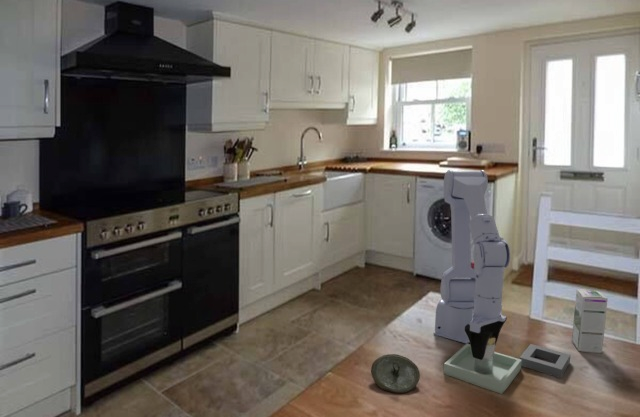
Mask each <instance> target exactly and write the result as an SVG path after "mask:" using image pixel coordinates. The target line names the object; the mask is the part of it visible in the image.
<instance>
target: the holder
mask: <svg viewBox="0 0 640 417" xmlns="http://www.w3.org/2000/svg"><path fill="white" fill-rule="evenodd" d="M535 357H537V358H535ZM539 358H542V359H543V360H542V359H539ZM519 359H521V360H522V362H521V367H523V368H527V369H530V370H533V371H537V372H540V373H543V374H547V375H550V376H553V377H557V378H559V379H560V378H561V379H562V377H563V375H564V374H565V371H566V370H567V368H568V366H569V365H570V364H571V363H570V362H571V354H569V353H566V352H561V351H558V350H555V349H551V348H547V347H543V346H541V345H536V344H532V343H530V344H529V345H528V347H527V348H526V349H525V350H524V351H523V353H521V355H520V356H519ZM546 360H548V361H549V362H548V361H546ZM550 361H552V362H550ZM553 362H555V363H553Z"/></svg>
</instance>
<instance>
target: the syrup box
mask: <svg viewBox="0 0 640 417" xmlns="http://www.w3.org/2000/svg"><path fill="white" fill-rule="evenodd" d="M575 291H576V293H575V303H574V311H573V313H574V314H573V324H572V335H571V336H572V337H571V342H572V344H573V345H574V346H575V348H576V350H577V352H583V353H585V352H586V353H593V354H596V353H597V354H603V349H604V348H603V347H604V340H605V328H606V319H607V308H608V297H607V296H605V294H604V293H602V291H600V290H596V289H589V288H588V289H583V288H582V289H581V288H579V289H578V288H577V289H576V290H575Z"/></svg>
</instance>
